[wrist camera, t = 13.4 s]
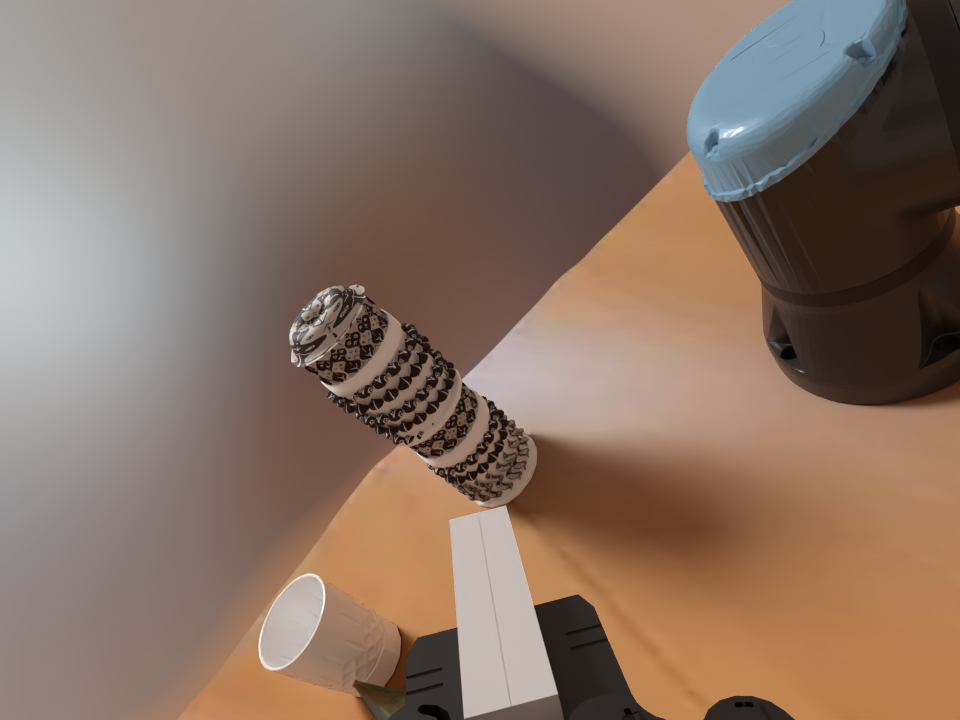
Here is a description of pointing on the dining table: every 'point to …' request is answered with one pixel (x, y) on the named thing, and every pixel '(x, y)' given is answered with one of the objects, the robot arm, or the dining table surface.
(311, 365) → the decorative candle
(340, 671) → the white cup
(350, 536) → the dining table surface
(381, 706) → the miniature gate
